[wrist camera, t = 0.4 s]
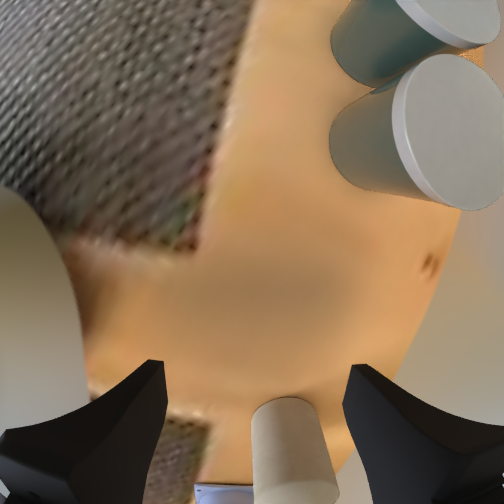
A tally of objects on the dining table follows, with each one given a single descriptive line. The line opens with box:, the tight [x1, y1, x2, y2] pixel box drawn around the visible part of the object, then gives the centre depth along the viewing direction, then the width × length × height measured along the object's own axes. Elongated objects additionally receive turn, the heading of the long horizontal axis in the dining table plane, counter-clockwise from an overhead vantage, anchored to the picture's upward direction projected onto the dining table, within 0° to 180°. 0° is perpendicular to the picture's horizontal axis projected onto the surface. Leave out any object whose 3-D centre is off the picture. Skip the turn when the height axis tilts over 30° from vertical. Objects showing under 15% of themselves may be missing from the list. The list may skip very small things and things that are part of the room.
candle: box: [251, 397, 340, 504], centre depth 19 cm, size 6×6×10 cm
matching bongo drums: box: [329, 0, 504, 211], centre depth 13 cm, size 13×6×10 cm, turn 177°
